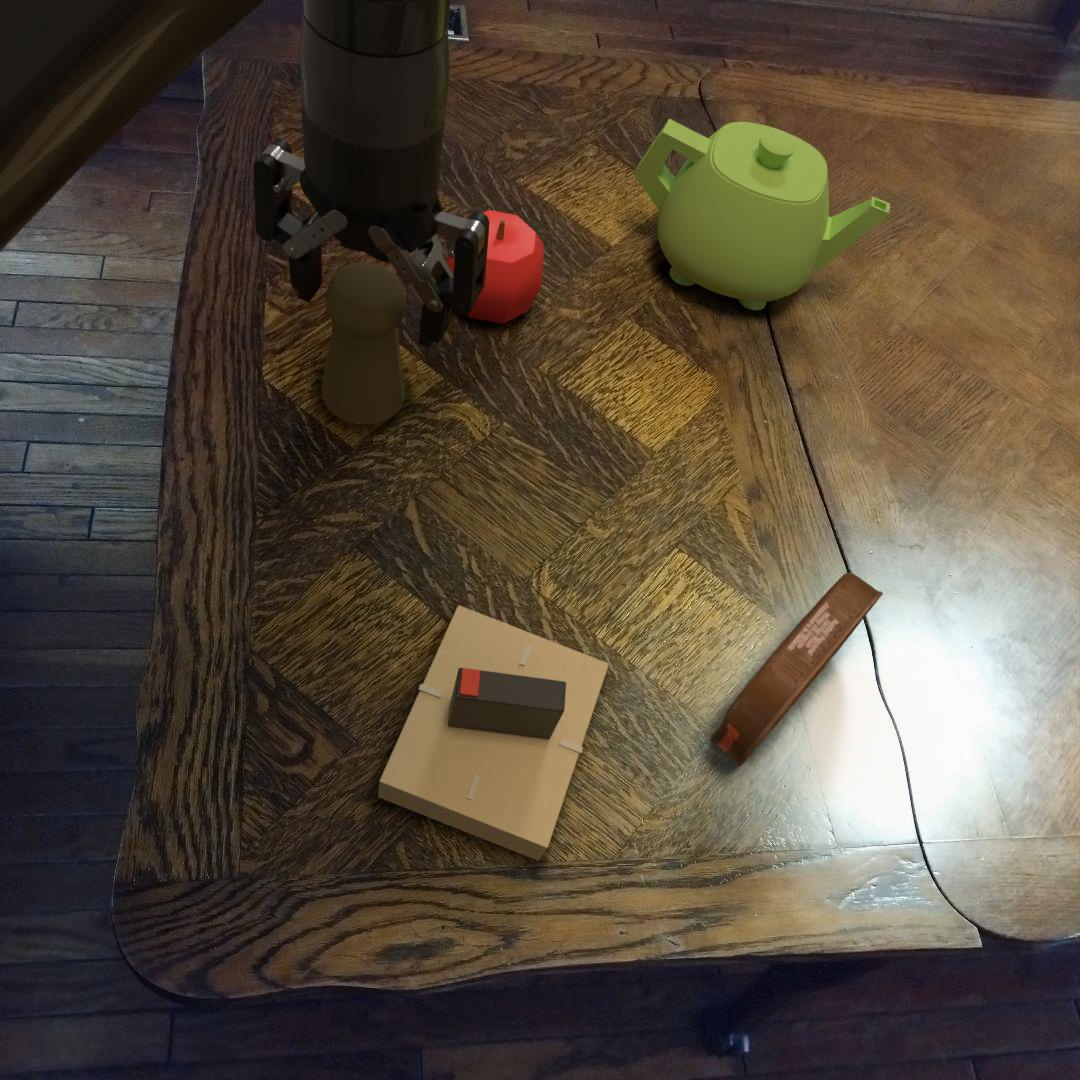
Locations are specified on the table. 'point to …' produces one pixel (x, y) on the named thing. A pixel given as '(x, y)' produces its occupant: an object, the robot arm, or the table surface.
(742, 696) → the tin
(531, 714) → the red tipped black brick
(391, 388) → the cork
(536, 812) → the panel
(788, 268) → the teapot
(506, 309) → the apple
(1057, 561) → the table surface
